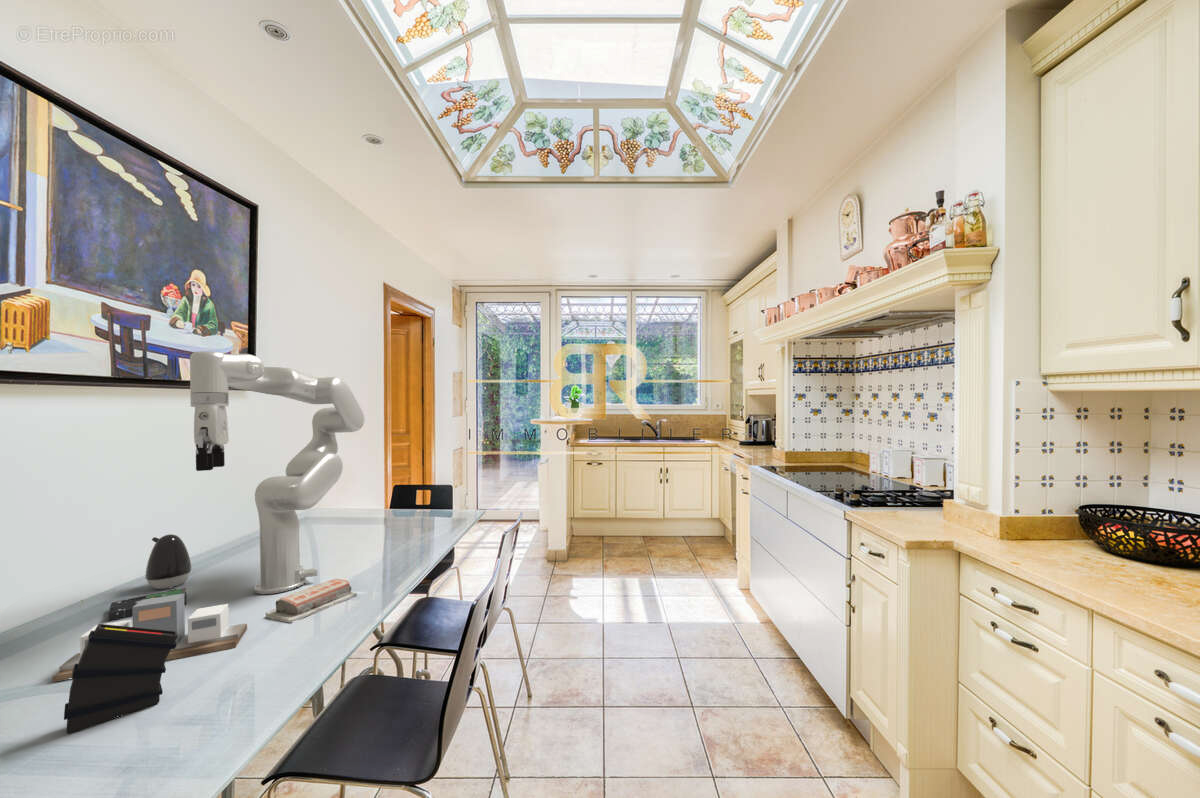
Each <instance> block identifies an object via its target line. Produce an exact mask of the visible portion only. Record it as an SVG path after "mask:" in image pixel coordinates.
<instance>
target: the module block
mask: <svg viewBox="0 0 1200 798" xmlns="http://www.w3.org/2000/svg"><path fill="white" fill-rule="evenodd" d="M185 606H186V605H184V594H177V595H171V596H164V597H157V598H151V599H144V600H141V601H140V602H139V603H137V604H136V605H135V606H133V607H132V614H133V617H132V627H136V628H146V629H157V630H167V631H175V632H177V634H178V637H177V639H176V643H177V644H178V643H179V642H180V641H181V639H182V638H183V637H184V636H185V634H186V619H185V618H186V617H185V616H186V615H185V614H186V612H185V608H186V607H185Z"/></svg>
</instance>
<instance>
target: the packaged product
mask: <svg viewBox="0 0 1200 798" xmlns="http://www.w3.org/2000/svg"><path fill="white" fill-rule="evenodd" d="M351 591H352V586H351V585H350V582H349V581H348V580H347V579H339V578H334V579H330V580H328V581H325V582H322V583H319V584H316V585H313V586H312V587H308V588H305V589H301V590H299V591H297V592H294V593H291V594H288V595H285V596H283V597H280V598H278V599H277V600H276V601H275V608H273V609H272V610H269V611H266V612H265V613H264V614H265V618H266V617H268V618H267V619H270V618H273V619H272V620H274V619H277V620H276V621H279V620H281V621H280V622H284V621H285V622H284V623H287V622H293V621H296V620H298V621H300V620H302V619H304V617H305V618H306V616H307V617H309V616H312V615H314V614H317V613H319V611H320V612H322V611H324V610H327V609H329V607H330V608H332V607H334V606H336V605H338V604H341V603H343V602H346V601H347V600H352V599H353V598H355V597H357V596H358V593H357V592H351ZM296 622H297V621H296ZM293 623H294V622H293Z"/></svg>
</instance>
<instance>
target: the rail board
mask: <svg viewBox="0 0 1200 798" xmlns="http://www.w3.org/2000/svg"><path fill="white" fill-rule="evenodd" d="M247 631H248V623H239V624H235V625H229V626H228V628H227V629H226V631H225V632H224V633H223V635H222V636H221V637H219V638H214V639H209V640H203V641H198V642H192V643H188V633H185V636H184V637H183V638H182V639H181V641H180V642H179V643H178V644H177V645H176V647H175V649H171V650H170V652H169V654H168V656H167V658H166V660H168V661H170V660H169V659H173V660H177V659H176V658H178V659H183V658H182V657H184V658H188V657H192V656H199V655H202V654H208V653H209V654H210V653H215V652H218V651H225V650H229V649H234V648H237V646H238V644H239V643H240V642H241V640H242V638H243V636H244V635H245V634H246V632H247ZM79 661H80V652H78V653H76V654H74V655H73V656H72V657H70V658H69V659H68V660H65V662H64V663H63V664H61V665H60V666H59V667H58V668H59V669H58V672H56V673H55V674H54V675H53V676H52V683H53V682H55V681H60V682H62V681H61V680H65V681H67V680H66V679H69V678H72V672H73V668H74V665H75V664H78V663H79ZM55 683H56V682H55Z"/></svg>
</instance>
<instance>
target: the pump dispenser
mask: <svg viewBox="0 0 1200 798" xmlns="http://www.w3.org/2000/svg"><path fill="white" fill-rule="evenodd" d="M151 541H152V542H154V546H153V547H152V549H151V552H150V554H149V557H148V560H147V564H146V569H145V578H144V579H146V581H147V583H148V585H149V586H150V587H152V588H153V589H155V590H165V589H164V588H168V589H171V588H170V587H172V588H175V587H174V586H176V587H178V586H180V585H182V584H184V582H186V581H187V580H188V578H189V576H190V573H191V571H192V562H191V557H190V554H189V551H188V549H187V547H186V545H185V543H184V541H183V540H182V539H181V538H180V537H179V535H176V534H170V533H169V534H166V535H163V536H161V537H160V538H158V537H157V536H155V537H154V536H153V537H152V539H151Z"/></svg>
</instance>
